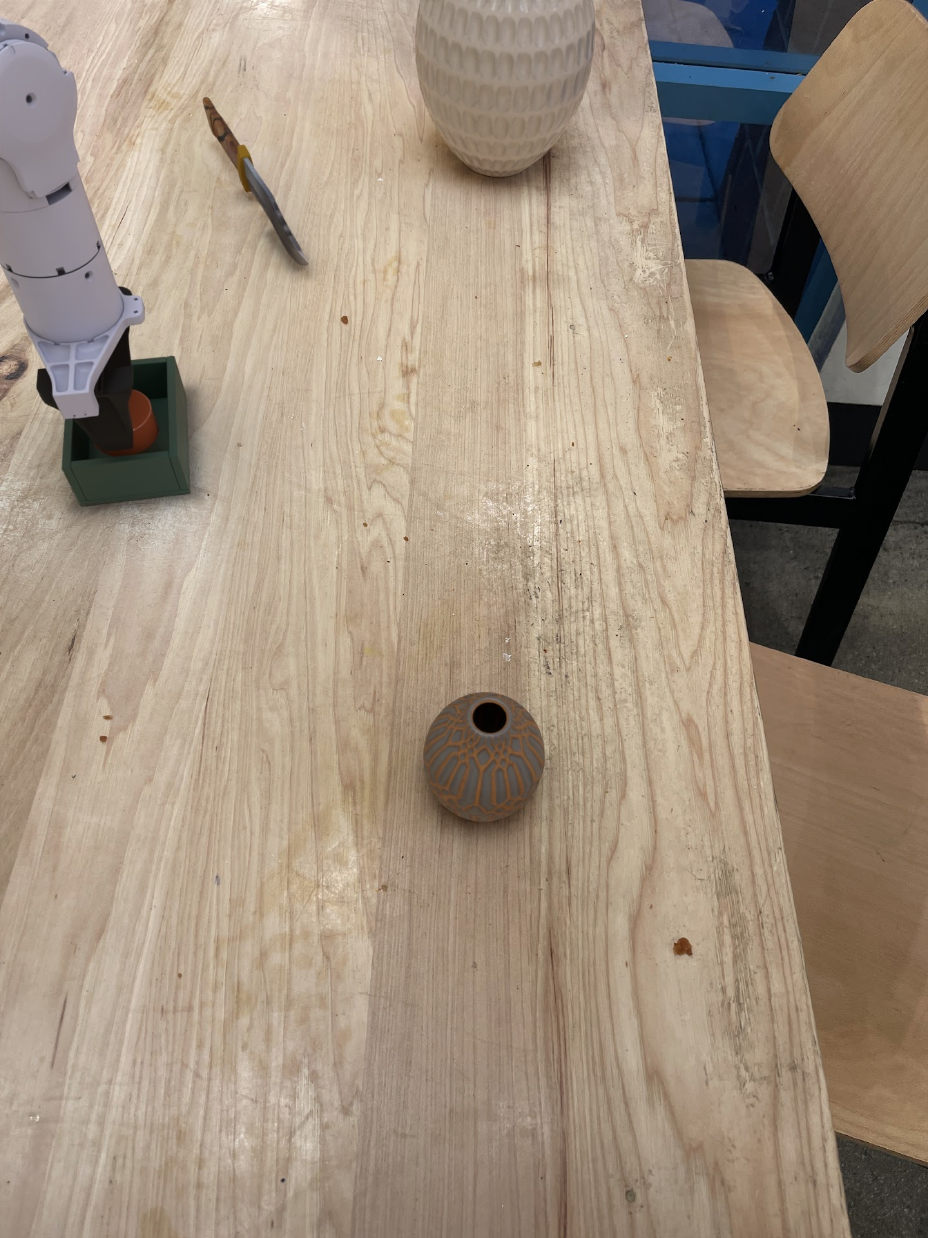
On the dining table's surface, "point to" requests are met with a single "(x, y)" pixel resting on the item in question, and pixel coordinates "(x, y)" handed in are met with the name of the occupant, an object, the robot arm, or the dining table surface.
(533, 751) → the vase
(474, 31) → the vase
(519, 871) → the dining table surface
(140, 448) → the cylinder
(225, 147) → the knife
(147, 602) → the dining table surface
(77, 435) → the tub
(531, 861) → the dining table surface
